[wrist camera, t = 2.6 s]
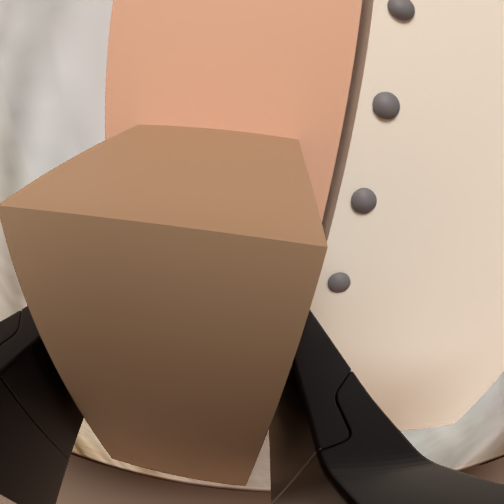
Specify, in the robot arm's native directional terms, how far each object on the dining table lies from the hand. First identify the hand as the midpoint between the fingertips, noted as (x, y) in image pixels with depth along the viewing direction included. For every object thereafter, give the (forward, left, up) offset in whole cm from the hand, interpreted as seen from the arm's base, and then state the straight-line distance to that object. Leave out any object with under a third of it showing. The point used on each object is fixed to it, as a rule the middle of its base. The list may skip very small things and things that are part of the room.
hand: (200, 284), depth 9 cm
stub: (0, 0, -2) cm, 2 cm away
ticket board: (-9, 0, -2) cm, 10 cm away
